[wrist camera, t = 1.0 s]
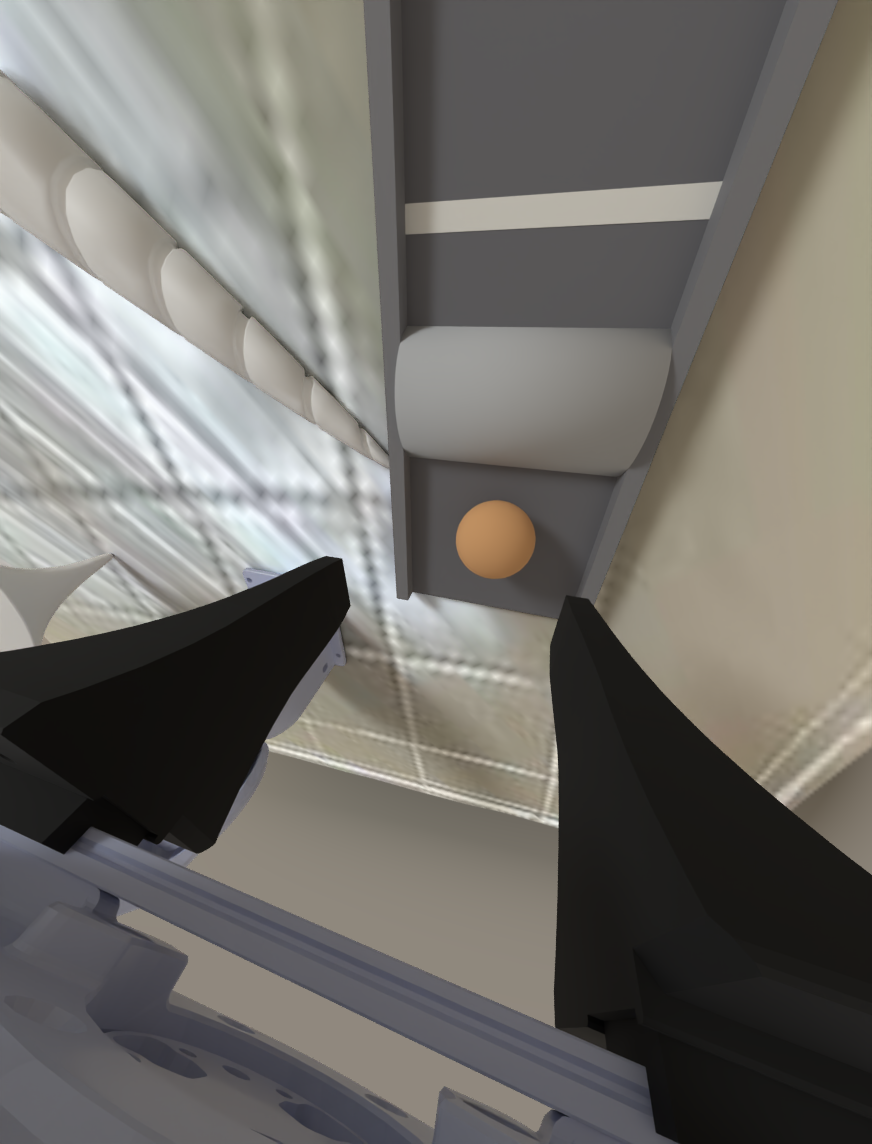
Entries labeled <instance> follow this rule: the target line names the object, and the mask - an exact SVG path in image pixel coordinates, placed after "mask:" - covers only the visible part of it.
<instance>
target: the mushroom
mask: <svg viewBox="0 0 872 1144" xmlns="http://www.w3.org/2000/svg"><path fill="white" fill-rule="evenodd" d="M112 558H113V555H112V554H110V553H107V554H103V555H99V556H96V557H93V558H90V559H87V560H83V561H80V562H77V563H73V564H69V565H64V566H58V567H50V568H37V569H23V568H12V567H6V566H1V565H0V652H4V651H11V650H17V649H22V648H28V647H34V646H40V645H41V643H42V639H43V635H44V632H45V630H46V628H47V625H48V623H49V622H50V620H51V618H52V617H53V615H54V613H55V612H56V611H57V609H58V608H59V607H60V605H61V604H62V603H63V602H64V601H65V600H66V599H67V598H68V596H69V595H70V594H71V593H72V592H73V591H74V590H76V589H77V588H78V587H79V586H80V585H81V584H82V583H83V582H84V581H85V580H87V579H88V578H89V577H90V576H91V575H93V574H94V573H95V572H96V571H98V570H99V569H100V568H101V567H103V566H104V565H105V564H106V563H108V562H109V561H110V560H111V559H112Z"/></svg>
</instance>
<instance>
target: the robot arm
mask: <svg viewBox="0 0 872 1144" xmlns="http://www.w3.org/2000/svg"><path fill="white" fill-rule="evenodd" d="M243 576H244V578H245V581H246V584H247V586H248V589H247V590H244V591H242V592H240V593H237V594H235V595H232V596H230V597H227V598H224V599H222V600H219V601H216V602H213V603H211V604H208V605H205V606H202V607H199V608H196V609H193V610H190V611H187V612H183V613H180V614H177V615H173V616H169V617H166V618H162V619H159V620H155V621H151V622H148V623H144V624H140V625H137V626H133V627H129V628H124V629H120V630H116V631H112V632H107V633H102V634H98V635H93V636H88V637H84V638H79V639H74V640H68V641H63V642H57V643H52V644H46V645H40V646H34V647H28V648H22V649H17V650H11V651H4V652H0V1144H872V875H871V874H870V873H868V872H867V871H866V870H864V869H863V868H862V867H861V866H859V865H858V864H857V863H855V862H854V861H853V860H851V859H850V858H849V857H847V856H846V855H845V854H844V853H842V852H841V851H840V850H839V849H837V848H836V847H835V846H834V845H832V844H831V843H829V841H827V840H826V839H825V838H824V837H822V836H821V835H820V834H819V833H817V832H816V831H815V830H814V829H813V828H811V827H810V826H809V825H808V824H806V823H805V822H804V821H803V820H801V819H800V818H799V817H798V816H797V815H795V814H794V813H793V812H792V811H790V810H789V809H788V808H787V807H785V806H784V805H783V804H782V803H781V802H780V801H778V800H777V799H776V798H775V797H774V796H772V795H771V794H770V793H769V792H768V791H767V790H765V789H764V788H763V787H762V786H761V785H759V784H758V783H757V782H756V781H755V780H754V779H753V778H751V777H750V776H749V775H748V774H747V773H746V772H745V771H744V770H742V769H741V768H740V767H739V766H738V765H737V764H736V763H735V762H733V761H732V760H731V759H730V758H729V757H728V756H727V755H726V754H725V753H723V752H722V751H721V750H720V749H719V748H718V747H717V746H716V745H715V744H714V743H713V742H711V741H710V740H709V739H708V738H707V737H706V736H705V735H704V734H703V733H702V732H701V731H700V730H699V729H698V728H697V727H696V726H695V725H694V724H693V723H692V722H691V721H690V720H689V719H688V718H687V717H686V716H685V715H684V714H683V713H682V712H681V711H680V710H679V709H678V708H677V707H676V706H675V705H674V704H673V703H672V702H671V701H670V700H669V699H668V698H667V697H666V696H665V695H664V693H663V692H662V691H661V690H660V689H659V688H658V687H657V686H656V685H655V683H654V682H653V681H652V680H651V679H650V678H649V677H648V675H647V674H646V673H645V672H644V671H643V670H642V669H641V667H640V666H639V665H638V664H637V663H636V661H635V660H634V659H633V658H632V657H631V655H630V654H629V653H628V651H627V650H626V649H625V648H624V646H623V645H622V644H621V643H620V641H619V640H618V639H617V637H616V636H615V635H614V633H613V632H612V631H611V629H610V628H609V626H608V625H607V624H606V622H605V621H604V620H603V618H602V617H601V615H600V614H599V613H598V611H597V610H596V609H595V607H594V606H593V604H592V603H591V602H590V600H589V599H587V598H581V597H575V596H569V595H566V597H565V600H564V603H563V606H562V609H561V612H560V616H559V619H558V622H557V625H556V628H555V632H554V635H553V638H552V641H551V644H550V684H551V694H552V704H553V713H554V723H555V732H556V742H557V752H558V769H559V851H558V852H559V853H558V900H557V901H558V903H557V929H556V930H557V931H556V958H555V981H554V1008H555V1027H556V1028H554V1027H552V1026H550V1025H547V1024H545V1023H543V1022H541V1021H538V1020H536V1019H534V1018H531V1017H529V1016H527V1015H525V1014H522V1013H520V1012H518V1011H515V1010H513V1009H511V1008H508V1007H506V1006H504V1005H501V1004H499V1003H497V1002H494V1001H492V1000H490V999H488V998H485V997H483V996H481V995H478V994H476V993H474V992H471V991H469V990H467V989H465V988H462V987H460V986H458V985H455V984H453V983H451V982H448V981H446V980H444V979H442V978H439V977H437V976H435V975H432V974H430V973H428V972H425V971H423V970H421V969H419V968H416V967H414V966H412V965H409V964H407V963H405V962H402V961H400V960H398V959H395V958H393V957H391V956H389V955H386V954H384V953H382V952H379V951H377V950H375V949H372V948H370V947H368V946H366V945H363V944H361V943H359V942H356V941H354V940H352V939H349V938H347V937H345V936H342V935H340V934H338V933H336V932H333V931H331V930H328V929H326V928H324V927H322V926H319V925H317V924H315V923H312V922H310V921H308V920H305V919H303V918H301V917H299V916H296V915H294V914H291V913H289V912H287V911H285V910H283V909H280V908H278V907H276V906H273V905H271V904H269V903H266V902H264V901H262V900H259V899H257V898H255V897H253V896H250V895H248V894H246V893H243V892H241V891H239V890H236V889H234V888H232V887H230V886H227V885H225V884H223V883H220V882H218V881H216V880H213V879H211V878H209V877H207V876H204V875H202V874H200V873H197V872H195V871H192V870H190V869H188V868H186V867H187V866H188V865H189V864H190V863H191V862H192V860H193V859H194V858H195V857H196V856H197V855H198V854H199V853H201V852H203V851H205V850H207V849H208V848H210V847H211V846H213V845H214V844H215V843H216V840H217V838H218V837H219V836H220V835H221V834H222V833H223V832H224V831H225V830H226V829H227V828H228V827H229V826H230V824H231V823H232V822H233V821H234V820H235V819H236V817H237V816H238V815H239V814H240V812H241V811H242V810H243V808H244V807H245V806H246V804H247V803H248V801H249V800H250V798H251V797H252V795H253V794H254V792H255V790H256V788H257V787H258V785H259V783H260V781H261V779H262V777H263V775H264V772H265V769H266V765H267V758H268V753H269V748H268V745H267V744H266V743H265V740H266V739H270V738H273V737H275V736H277V735H279V734H281V733H282V732H284V731H285V730H287V729H288V728H289V727H291V726H292V725H293V724H294V723H295V722H296V721H297V720H298V719H299V717H300V716H301V715H302V713H303V712H304V710H305V709H306V707H307V706H308V704H309V703H310V701H311V700H312V698H313V697H314V695H315V694H316V692H317V691H318V689H319V688H320V686H321V685H322V683H323V682H324V680H325V679H326V677H327V676H328V674H329V673H330V671H331V670H332V668H333V667H334V665H338V666H344V665H345V664H346V657H345V652H344V647H343V642H342V637H341V632H340V625H341V623H342V621H343V619H344V617H345V615H346V613H347V611H348V610H349V608H350V606H351V605H350V600H349V594H348V588H347V583H346V577H345V572H344V566H343V560H342V559H341V558H335V557H329V556H325V557H322V558H319V559H317V560H314V561H312V562H309V563H307V564H304V565H302V566H300V567H298V568H295V569H293V570H291V571H289V572H286V573H284V574H278V573H272V572H267V571H262V570H257V569H251V568H246V569H245V570H243ZM139 908H140V909H142V910H144V911H146V912H149V913H151V914H153V915H155V916H157V917H159V918H161V919H163V920H165V921H167V922H169V923H171V924H174V925H175V926H177V927H179V928H182V929H184V930H186V931H188V932H190V933H192V934H194V935H196V936H198V937H200V938H202V939H204V940H206V941H208V942H210V943H212V944H215V945H217V946H219V947H221V948H223V949H225V950H227V951H229V952H231V953H233V954H235V955H237V956H239V957H242V958H243V959H245V960H247V961H250V962H252V963H254V964H256V965H258V966H260V967H262V968H264V969H266V970H269V971H270V972H272V973H275V974H277V975H279V976H280V977H283V978H285V979H287V980H289V981H291V982H293V983H295V984H297V985H299V986H301V987H303V988H305V989H308V990H309V991H312V992H313V993H316V994H318V995H320V996H322V997H324V998H326V999H328V1000H330V1001H332V1002H334V1003H336V1004H338V1005H340V1006H342V1007H345V1008H346V1009H349V1010H351V1011H353V1012H355V1013H357V1014H359V1015H361V1016H363V1017H365V1018H367V1019H369V1020H371V1021H373V1022H376V1023H377V1024H380V1025H381V1026H384V1027H386V1028H388V1029H390V1030H392V1031H394V1032H396V1033H398V1034H400V1035H402V1036H404V1037H406V1038H408V1039H410V1040H412V1041H414V1042H417V1043H419V1044H421V1045H423V1046H425V1047H427V1048H429V1049H431V1050H433V1051H435V1052H437V1053H439V1054H441V1055H443V1056H445V1057H447V1058H449V1059H452V1060H454V1061H456V1062H458V1063H460V1064H462V1065H464V1066H466V1067H468V1068H470V1069H472V1070H474V1071H476V1072H478V1073H480V1074H482V1075H485V1076H487V1077H489V1078H491V1079H493V1080H495V1081H497V1082H499V1083H501V1084H503V1085H505V1086H507V1087H510V1088H511V1089H514V1090H515V1091H518V1092H520V1093H522V1094H524V1095H526V1096H528V1097H530V1098H532V1099H534V1100H536V1101H538V1102H540V1103H542V1104H544V1105H546V1106H548V1107H551V1108H553V1109H555V1110H550V1111H549V1112H548V1113H547V1114H546V1115H545V1116H544V1118H543V1120H542V1124H541V1127H540V1129H539V1131H537V1132H534V1131H533V1130H531V1129H530V1128H528V1127H527V1126H525V1125H523V1124H522V1123H520V1122H519V1121H517V1120H515V1119H513V1118H512V1117H510V1116H508V1115H506V1114H504V1113H502V1112H500V1111H498V1110H496V1109H494V1108H492V1107H490V1106H488V1105H485V1104H483V1103H481V1102H479V1101H477V1100H474V1099H472V1098H470V1097H468V1096H465V1095H463V1094H461V1093H459V1092H456V1091H454V1090H452V1089H450V1088H447V1087H443V1089H442V1090H441V1091H440V1092H439V1099H438V1107H437V1114H436V1121H435V1129H433V1128H432V1127H430V1126H429V1125H427V1124H425V1123H424V1122H422V1121H420V1120H418V1119H417V1118H415V1117H413V1116H412V1115H410V1114H408V1113H407V1112H405V1111H403V1110H402V1109H400V1108H398V1107H397V1106H395V1105H393V1104H392V1103H390V1102H388V1101H387V1100H385V1099H383V1098H382V1097H380V1096H378V1095H377V1094H375V1093H373V1092H371V1091H370V1090H368V1089H367V1088H365V1087H363V1086H361V1085H360V1084H358V1083H356V1082H355V1081H353V1080H351V1079H349V1078H348V1077H346V1076H344V1075H342V1074H340V1073H339V1072H336V1071H335V1070H333V1069H331V1068H330V1067H328V1066H326V1065H324V1064H322V1063H320V1062H318V1061H317V1060H315V1059H313V1058H311V1057H309V1056H307V1055H305V1054H303V1053H301V1052H299V1051H297V1050H295V1049H294V1048H292V1047H290V1046H288V1045H286V1044H284V1043H282V1042H280V1041H278V1040H276V1039H273V1038H271V1037H269V1036H267V1035H265V1034H263V1033H261V1032H259V1031H257V1030H255V1029H253V1028H251V1027H249V1026H247V1025H245V1024H242V1023H240V1022H238V1021H236V1020H234V1019H232V1018H230V1017H228V1016H225V1015H224V1014H221V1013H219V1012H217V1011H215V1010H213V1009H211V1008H209V1007H207V1006H205V1005H202V1004H200V1003H198V1002H196V1001H194V1000H192V999H190V998H188V997H186V996H184V995H182V994H179V993H177V992H175V991H173V990H172V989H173V988H174V986H175V984H176V982H177V981H178V979H179V977H180V976H181V974H182V972H183V970H184V969H185V967H186V965H187V963H188V956H187V955H186V954H184V953H182V952H181V951H179V950H178V949H176V948H175V947H173V946H171V945H169V944H168V943H166V942H164V941H162V940H160V939H157V938H155V937H153V936H151V935H148V934H146V933H143V932H141V931H139V930H136V929H134V928H131V927H129V926H126V925H124V924H121V923H119V922H117V919H116V917H117V916H120V915H123V914H126V913H128V912H131V911H134V910H137V909H139Z"/></svg>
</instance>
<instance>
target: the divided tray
mask: <svg viewBox="0 0 872 1144" xmlns="http://www.w3.org/2000/svg"><path fill="white" fill-rule="evenodd" d="M837 2H838V0H364V18H365V36H366V54H367V72H368V90H369V108H370V126H371V144H372V162H373V179H374V197H375V215H376V233H377V251H378V269H379V287H380V305H381V323H382V341H383V359H384V376H385V394H386V412H387V430H388V448H389V466H390V484H391V502H392V520H393V538H394V555H395V573H396V591H397V598H398V599H404V600H408V599H409V597H410V596H411V594H412V592H417V593H422V594H428V595H433V596H438V597H444V598H449V599H454V600H460V601H465V602H470V603H476V604H481V605H487V606H492V607H497V608H503V609H508V610H513V611H519V612H524V613H529V614H535V615H540V616H546V617H551V618H556V619H559V616H560V612H561V609H562V606H563V603H564V600H565V597H566V595H569V596H575V597H581V598H587V599H589V600H590V602H591V603H592V604H593V606H594V604H595V601H596V599H597V596H598V594H599V591H600V589H601V586H602V584H603V581H604V579H605V576H606V574H607V571H608V569H609V566H610V564H611V562H612V559H613V557H614V554H615V552H616V549H617V547H618V544H619V542H620V539H621V537H622V534H623V532H624V529H625V527H626V524H627V522H628V519H629V517H630V514H631V512H632V509H633V507H634V505H635V502H636V500H637V497H638V495H639V492H640V490H641V487H642V485H643V482H644V480H645V477H646V475H647V472H648V470H649V467H650V465H651V462H652V460H653V457H654V455H655V453H656V450H657V448H658V445H659V443H660V440H661V438H662V435H663V433H664V430H665V428H666V425H667V423H668V420H669V418H670V415H671V413H672V410H673V408H674V405H675V403H676V401H677V398H678V396H679V393H680V391H681V388H682V386H683V383H684V381H685V378H686V376H687V373H688V371H689V368H690V366H691V363H692V361H693V358H694V356H695V353H696V351H697V348H698V346H699V344H700V341H701V339H702V336H703V334H704V331H705V329H706V326H707V324H708V321H709V319H710V316H711V314H712V311H713V309H714V306H715V304H716V301H717V299H718V296H719V294H720V292H721V289H722V287H723V284H724V282H725V279H726V277H727V274H728V272H729V269H730V267H731V264H732V262H733V259H734V257H735V254H736V252H737V249H738V247H739V244H740V242H741V240H742V237H743V235H744V232H745V230H746V227H747V225H748V222H749V220H750V217H751V215H752V212H753V210H754V207H755V205H756V202H757V200H758V197H759V195H760V192H761V190H762V187H763V185H764V183H765V180H766V178H767V175H768V173H769V170H770V168H771V165H772V163H773V160H774V158H775V155H776V153H777V150H778V148H779V145H780V143H781V140H782V138H783V135H784V133H785V131H786V128H787V126H788V123H789V121H790V118H791V116H792V113H793V111H794V108H795V106H796V103H797V101H798V98H799V96H800V93H801V91H802V88H803V86H804V83H805V81H806V78H807V76H808V74H809V71H810V69H811V66H812V64H813V61H814V59H815V56H816V54H817V51H818V49H819V46H820V44H821V41H822V39H823V36H824V34H825V31H826V29H827V26H828V24H829V22H830V19H831V17H832V14H833V12H834V9H835V7H836V4H837ZM493 500H501V501H506V502H510V503H512V504H514V505H516V506H518V507H519V508H521V509H522V510H523V511H524V512H525V513H526V514H527V515H528V517H529V518H530V520H531V522H532V524H533V527H534V530H535V536H536V541H535V548H534V551H533V554H532V556H531V558H530V560H529V561H528V563H527V564H526V565H525V566H524V567H523V568H522V569H521V570H520V571H518V572H517V573H515V574H513V575H511V576H509V577H506V578H501V579H489V578H484V577H481V576H479V575H477V574H475V573H473V572H472V571H470V570H469V569H468V568H467V567H466V566H465V565H464V563H463V562H462V560H461V559H460V557H459V554H458V551H457V547H456V533H457V529H458V526H459V524H460V522H461V520H462V519H463V517H464V516H465V515H466V513H467V512H468V511H470V510H471V509H472V508H473V507H475V506H476V505H478V504H481V503H483V502H487V501H493Z"/></svg>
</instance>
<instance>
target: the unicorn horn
mask: <svg viewBox="0 0 872 1144" xmlns="http://www.w3.org/2000/svg"><path fill="white" fill-rule="evenodd" d="M0 212H1V213H2V214H4V215H5V216H7V217H9V218H10V219H12V220H13V221H14V222H15V223H16V224H18V225H19V226H20V227H22V228H23V229H25V230H26V231H28V232H29V233H31V234H32V235H33V236H35V237H36V238H38V239H39V240H41V241H42V242H44V243H45V244H46V245H48V246H49V247H51V248H52V249H54V250H55V251H57V252H58V253H59V254H61V255H62V256H64V257H65V258H67V259H68V260H70V261H71V262H73V263H74V264H75V265H77V266H78V267H80V268H81V269H83V270H84V271H86V272H87V273H88V274H90V275H91V276H93V277H95V278H97V279H98V280H100V281H102V282H103V283H104V284H105V285H106V286H107V287H109V288H110V289H112V290H113V291H115V292H116V293H118V294H119V295H121V296H122V297H124V298H125V299H126V300H128V301H129V302H131V303H132V304H134V305H135V306H137V307H138V308H140V309H141V310H143V311H144V312H146V313H147V314H149V315H150V316H152V317H153V318H155V319H156V320H158V321H159V322H160V323H162V324H163V325H165V326H166V327H168V328H169V329H171V330H172V331H174V332H176V333H177V334H179V335H181V336H183V337H184V338H185V339H186V340H187V341H188V342H190V343H191V344H193V345H194V346H196V347H197V348H199V349H200V350H202V351H203V352H205V353H206V354H208V355H209V356H211V357H212V358H214V359H215V360H217V361H218V362H220V363H221V364H223V365H224V366H226V367H227V368H229V369H230V370H232V371H233V372H235V373H236V374H238V375H239V376H241V377H242V378H244V379H245V380H247V381H249V382H251V383H253V384H254V385H255V386H256V387H257V388H259V389H260V390H262V391H263V392H265V393H266V394H268V395H269V396H271V397H272V398H274V399H276V400H277V401H279V402H280V403H282V404H283V405H285V406H286V407H288V408H289V409H291V410H292V411H294V412H296V413H297V414H299V415H300V416H302V417H303V418H305V419H306V420H308V421H309V422H311V423H313V424H316V425H318V427H319V428H320V429H322V430H324V431H325V432H327V433H328V434H330V435H331V436H333V437H335V438H336V439H338V440H339V441H341V442H343V443H344V444H346V445H348V446H349V447H351V448H352V449H354V450H356V451H357V452H359V453H361V454H362V455H364V456H366V457H368V458H369V459H371V460H374V461H376V462H377V463H379V464H380V465H382V466H384V467H387V468H389V469H390V466H389V456H388V455H387V454H386V453H385V452H384V450H383V449H382V448H381V447H380V446H379V445H378V444H377V443H376V441H375V440H374V439H373V438H372V437H371V436H370V435H369V434H368V433H367V432H366V431H365V430H364V429H362V428H359V426H358V423H357V421H356V420H355V419H354V418H353V417H352V416H351V415H350V414H349V413H348V412H347V411H346V410H345V409H344V408H343V407H342V406H341V405H340V404H339V403H338V401H337V400H336V399H335V398H334V397H333V396H332V395H331V394H330V393H329V392H328V391H327V390H326V389H325V388H324V387H323V386H322V385H321V384H320V383H319V382H318V381H317V380H316V379H315V378H314V377H313V376H309V377H306V376H305V370H304V368H303V367H302V366H301V365H300V364H299V363H298V362H297V361H296V359H295V358H294V357H293V356H292V355H291V354H290V353H289V352H288V351H287V350H286V349H285V348H284V347H283V346H282V345H281V344H280V343H279V342H278V341H277V340H276V339H275V338H274V337H273V336H272V335H271V334H270V333H269V332H268V331H267V330H266V329H265V328H264V327H263V326H262V325H261V324H260V323H259V322H258V321H257V320H256V319H255V318H254V317H252V316H251V318H250V319H248V318H247V317H246V316H245V315H244V314H243V313H242V310H243V306H242V305H241V304H240V303H239V302H238V301H237V300H236V299H235V298H234V297H233V296H232V295H231V294H229V293H228V292H227V291H226V290H225V289H224V288H223V287H222V286H221V285H220V284H219V283H218V282H217V281H216V280H215V279H214V278H213V277H212V276H211V275H210V274H209V273H208V272H207V271H206V270H205V269H204V268H203V267H202V266H201V265H200V264H199V263H198V262H197V261H196V260H195V259H194V258H193V257H192V256H191V255H190V254H189V253H188V252H186V251H185V250H184V249H182V248H179V249H178V247H177V243H176V241H175V240H174V239H173V238H172V237H171V236H170V235H169V234H168V233H167V232H166V231H165V230H164V229H163V228H162V227H161V226H160V225H159V224H158V223H157V222H156V221H155V220H154V219H153V218H152V217H151V216H150V215H149V214H148V213H147V212H146V211H145V210H144V209H143V208H142V207H141V206H140V205H139V204H138V203H137V202H135V201H134V200H133V199H132V198H131V197H130V196H129V195H128V194H127V193H126V192H125V191H124V190H123V189H122V188H121V187H120V186H119V185H118V184H117V183H116V182H115V181H114V180H113V179H112V178H110V177H109V176H108V175H107V174H106V173H105V172H103V171H102V169H101V167H100V166H99V165H98V164H97V163H96V162H95V161H94V160H92V159H91V158H90V157H89V156H88V155H87V154H86V153H85V152H84V151H83V150H82V149H81V148H80V147H79V146H78V145H77V144H76V143H75V142H74V141H73V140H72V139H71V138H70V137H69V136H68V135H67V134H66V133H65V132H64V131H63V130H62V129H61V128H60V127H59V126H58V125H57V124H56V123H55V122H54V121H53V120H52V119H51V118H50V117H49V116H48V115H47V114H46V113H45V112H44V111H43V110H42V109H41V108H40V107H39V106H38V105H37V104H36V103H35V102H34V101H33V100H32V99H31V98H29V97H28V96H27V95H26V94H25V93H24V92H22V91H21V90H20V89H19V88H18V87H17V86H16V84H15V83H14V82H13V81H12V80H11V79H10V78H9V77H8V76H7V75H6V74H5V73H3V72H2V71H1V70H0Z"/></svg>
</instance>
